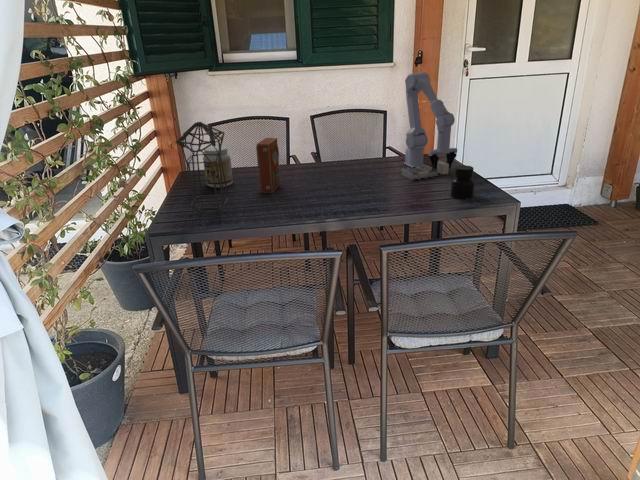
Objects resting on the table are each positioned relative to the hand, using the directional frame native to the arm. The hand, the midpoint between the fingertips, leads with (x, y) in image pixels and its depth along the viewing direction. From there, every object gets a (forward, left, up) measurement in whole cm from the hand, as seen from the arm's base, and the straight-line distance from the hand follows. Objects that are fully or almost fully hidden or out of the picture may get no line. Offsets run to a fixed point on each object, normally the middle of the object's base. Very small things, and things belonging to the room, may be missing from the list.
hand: (441, 169), depth 217 cm
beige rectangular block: (0, 0, -2) cm, 2 cm away
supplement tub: (-28, -101, -2) cm, 105 cm away
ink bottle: (+33, -12, -2) cm, 35 cm away
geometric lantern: (+10, -110, -2) cm, 110 cm away
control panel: (-11, -81, -2) cm, 82 cm away
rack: (0, -12, -2) cm, 12 cm away
